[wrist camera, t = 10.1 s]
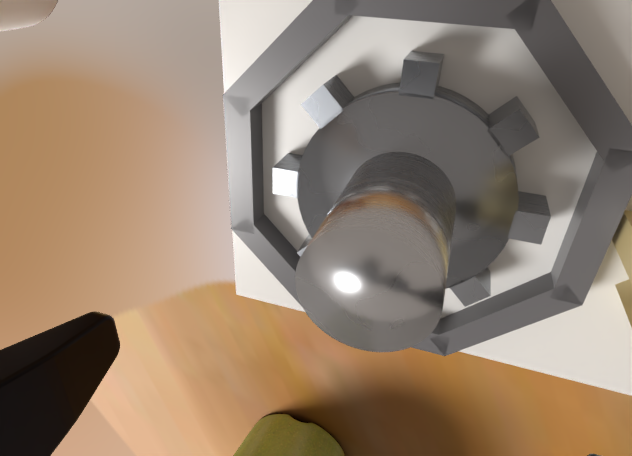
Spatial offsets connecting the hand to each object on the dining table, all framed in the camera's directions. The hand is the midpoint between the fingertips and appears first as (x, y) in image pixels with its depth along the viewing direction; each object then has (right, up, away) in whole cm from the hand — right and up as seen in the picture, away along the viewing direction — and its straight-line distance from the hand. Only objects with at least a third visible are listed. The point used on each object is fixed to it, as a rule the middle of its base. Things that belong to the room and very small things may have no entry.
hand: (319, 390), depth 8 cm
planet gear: (+3, +5, +8) cm, 10 cm away
